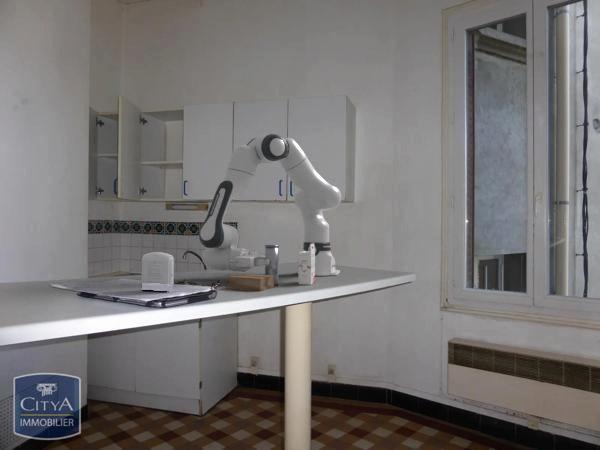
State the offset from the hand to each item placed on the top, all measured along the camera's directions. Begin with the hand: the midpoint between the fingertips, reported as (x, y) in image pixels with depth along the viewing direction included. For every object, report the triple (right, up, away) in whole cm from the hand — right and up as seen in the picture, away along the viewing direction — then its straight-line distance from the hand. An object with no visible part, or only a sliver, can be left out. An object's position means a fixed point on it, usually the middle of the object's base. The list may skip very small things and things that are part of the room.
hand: (273, 261), depth 159 cm
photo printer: (-35, -8, -23) cm, 43 cm away
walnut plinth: (-7, -8, -14) cm, 18 cm away
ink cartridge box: (+12, -8, 0) cm, 15 cm away
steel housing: (-1, -8, 0) cm, 8 cm away
